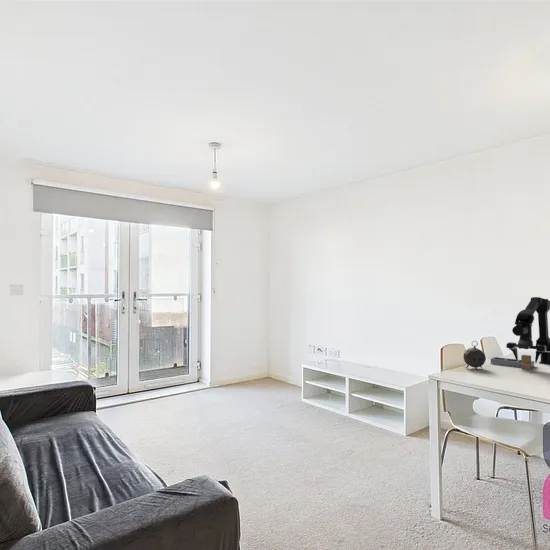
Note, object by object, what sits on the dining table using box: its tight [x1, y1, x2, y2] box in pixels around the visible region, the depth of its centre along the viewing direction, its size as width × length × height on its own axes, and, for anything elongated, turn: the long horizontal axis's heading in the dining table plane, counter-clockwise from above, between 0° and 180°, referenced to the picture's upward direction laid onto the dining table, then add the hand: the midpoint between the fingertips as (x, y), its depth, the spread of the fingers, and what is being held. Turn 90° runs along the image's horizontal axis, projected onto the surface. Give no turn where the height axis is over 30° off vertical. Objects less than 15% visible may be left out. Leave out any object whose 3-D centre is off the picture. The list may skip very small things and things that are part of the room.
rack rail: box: [490, 356, 535, 369], centre depth 234 cm, size 21×9×3 cm, turn 46°
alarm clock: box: [463, 340, 487, 370], centre depth 224 cm, size 11×5×16 cm, turn 84°
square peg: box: [520, 354, 532, 371], centre depth 222 cm, size 4×4×8 cm
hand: (526, 361), depth 222 cm, fingers open, 9 cm apart
